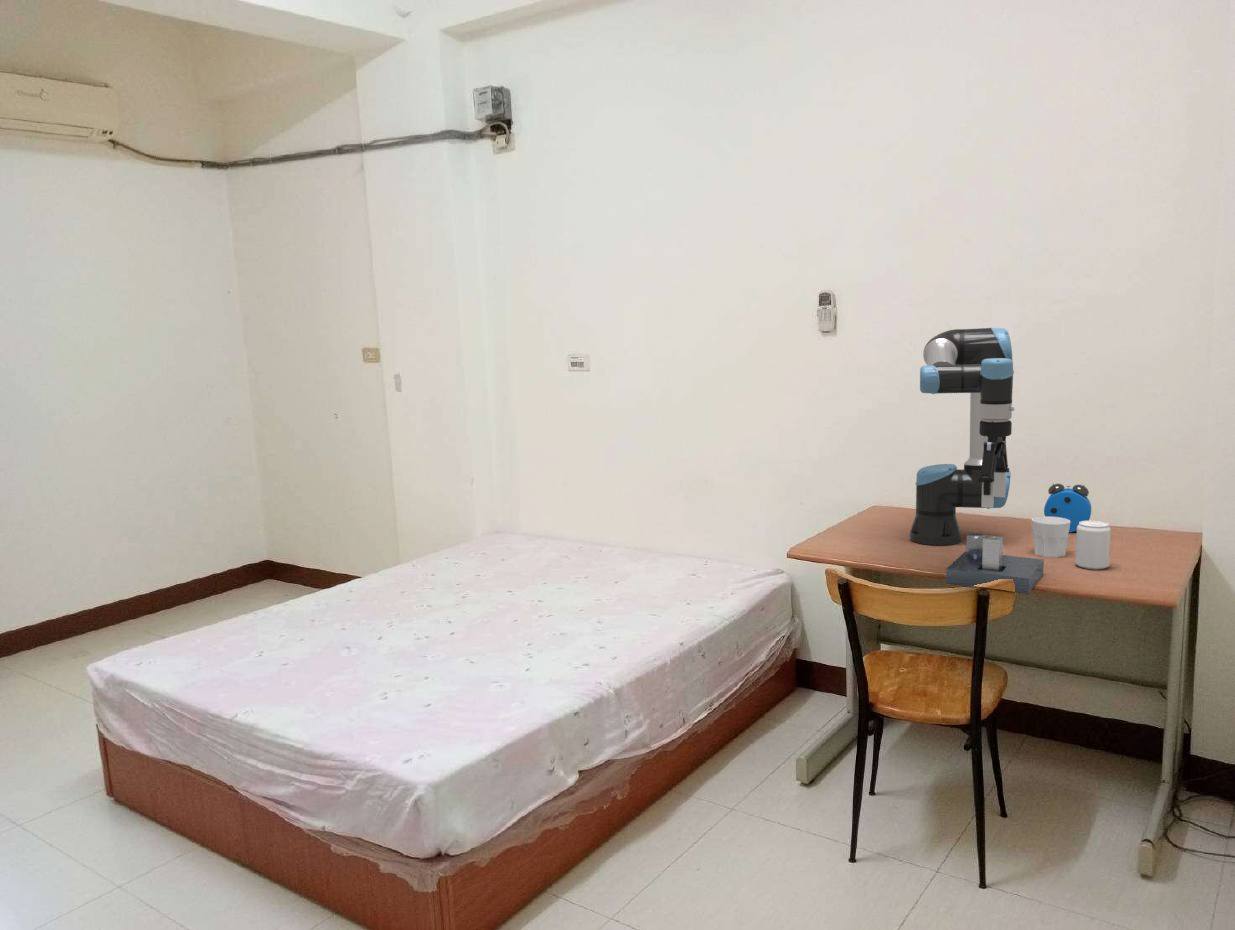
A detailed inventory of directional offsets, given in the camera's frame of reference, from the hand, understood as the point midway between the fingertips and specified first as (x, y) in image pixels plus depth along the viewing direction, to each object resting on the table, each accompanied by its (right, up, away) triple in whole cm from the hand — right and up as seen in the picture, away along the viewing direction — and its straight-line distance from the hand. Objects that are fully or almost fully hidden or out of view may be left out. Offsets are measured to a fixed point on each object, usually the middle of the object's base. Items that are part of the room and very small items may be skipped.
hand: (993, 502), depth 232 cm
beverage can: (+33, -18, +14) cm, 40 cm away
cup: (+28, -16, +28) cm, 43 cm away
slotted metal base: (+3, -20, +6) cm, 22 cm away
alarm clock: (+45, -11, +53) cm, 71 cm away
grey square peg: (+1, -21, +3) cm, 21 cm away
